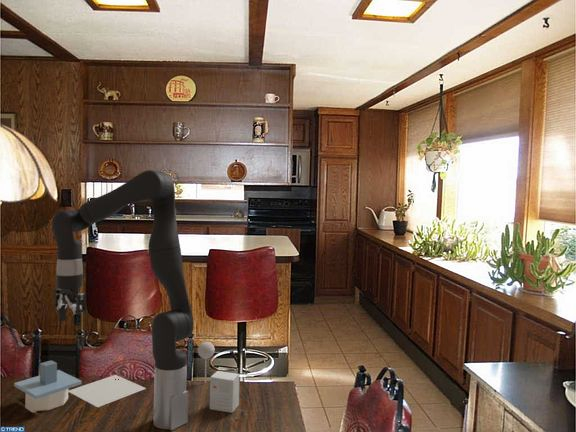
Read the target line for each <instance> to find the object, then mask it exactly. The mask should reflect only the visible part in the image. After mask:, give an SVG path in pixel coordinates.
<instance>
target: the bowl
mask: <svg viewBox="0 0 576 432" xmlns="http://www.w3.org/2000/svg"><path fill="white" fill-rule="evenodd" d="M68 391H69V388H68V389H65V390H62V391H59V392H56V393H53V394H50V395H47V396H44V397H41V398H38V399H35V398H33V397H31V396H30V395H28V394H26V393H25V398H24V399H25V401H24V402H25V405H24V407H25V409H26V410H28V411H29V412H31V413H32V414H33V413H37V411H39V412H40V411H51V410H53V409H56V408H58V407H61V406H65V404H66V402H67V401H68V400H69V392H68Z"/></svg>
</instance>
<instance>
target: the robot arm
mask: <svg viewBox="0 0 576 432" xmlns="http://www.w3.org/2000/svg"><path fill="white" fill-rule="evenodd" d="M143 201H147V202H150V204H151V207H152V212H153V223H152V229H151V233H150V235H149V240H148V254H149V263H150V268H151V271H152V273H153V274H154V276H155V277H156V279H157V280H158V282H159V283H160V284H161V285H162V287H163V288H164V290H165V292H166V294H167V296H168V301H169V306H170V310H167V311H163V312H160V313H158V314H156V315H155V316H154V318H153V321H152V326H151V341H152V345H151V346H152V357H153V359H154V378H153V379H154V381H153V382H154V383H153V385H154V386H153V419H152V421H153V426H154V427H156V428H158V429H161V430H170V431H174V430H176V429H177V428H180V427H181V426H184V425H185V424H187V423H188V422H189V420H188V419H189V391H188V389H187V373H188V372H187V370H188V369H187V367H188V355H187V354H186V352H184V351H182V350H177V349H176V348H177V347H176V342H180V341H182V340H186V339H188V338H189V337H191V335H192V334H193V332H194V326H195V325H194V316H193V315H194V314H193V312H192V306H191V303H190V299H189V294H188V291H187V286H186V279H185V273H184V267H183V265H184V264H183V257H182V256H183V255H182V249H181V243H180V237H179V230H178V223H177V216H176V214H177V213H176V194H175V184H174V181H173V178H171V176H170V175H168V174H166V173H164V172H161V171H157V170H152V169H149V170H144V171H142V172H140V173H139V174H137V175H136V176H134V177H133V178H131V179H130V180H128V181H127V182H125V183H123V184H122V185H120V186H119V187H117V188H115V189H113V190H110V191H109V192H107V193H104V194H102V195H101V196H100V195H99V196H98V197H95V198H92V199H91V200H88V201H86V202H84V203H82V204H81V205H80V208H77V209H73V210H72V209H70V210H69V209H67V210H63V209H62V210H58V211H57V212H55V214H54V215H53V217H52V220H51V226H52V232H53V235H54V239H55V243H56V247H57V250H56V251H57V260H56V277H55V278H56V279H55V280H56V281H55V282H56V286H55V287H56V288H55V289H54V291H53V292H54V295H53V307H54V308H56V310H57V311H58V312H57V314H58V316H57V317H58V320H57V321H58V322H61V323H62V322H65V321H67V307H69V309H71V312H72V313H73V314H72V326H74V327H78V326H81V325H82V314H83V313H86V311H87V307H86V305H87V304H86V303H87V302H86V299H87V298H86V293H85V292H80V288H82V287H83V286H84V285H83V283H84V278H83V274H84V273H83V272H84V268H83V266H84V265H83V259H82V258H83V245H82V242H81V241H80V240H78V239H75V237H74V233H77V232H81V231H84V230H86V229H87V228H89V227H91V226H93V225H94V224H96V223H98V222H99V223H100V222H101V221H104V220H105V219H108V218H110V217H112V216H114V215H117V213H118V212H120V211H121V210H122V209H123V208H125V207H126V206H128V205H131V204H134V203H138V202H143Z"/></svg>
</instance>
